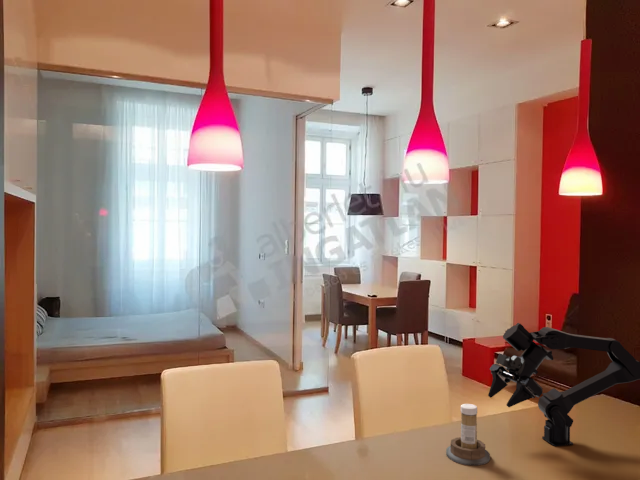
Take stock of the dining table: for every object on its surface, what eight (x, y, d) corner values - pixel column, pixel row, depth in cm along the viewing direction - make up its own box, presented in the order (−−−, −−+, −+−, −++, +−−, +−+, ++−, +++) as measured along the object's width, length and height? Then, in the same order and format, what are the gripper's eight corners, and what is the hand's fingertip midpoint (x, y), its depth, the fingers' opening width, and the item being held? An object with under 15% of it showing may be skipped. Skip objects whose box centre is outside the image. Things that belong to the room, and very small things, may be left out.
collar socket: (477, 445, 153) (477, 434, 153) (498, 463, 141) (498, 450, 141) (439, 448, 151) (439, 437, 151) (457, 467, 139) (457, 454, 139)
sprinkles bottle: (478, 451, 147) (478, 404, 147) (474, 457, 143) (475, 409, 143) (462, 448, 149) (462, 402, 149) (458, 453, 145) (458, 406, 145)
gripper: (494, 338, 163) (464, 376, 160) (533, 351, 145) (499, 393, 142) (516, 360, 165) (486, 398, 163) (557, 375, 147) (524, 418, 145)
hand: (498, 401), depth 153 cm, fingers open, 9 cm apart
